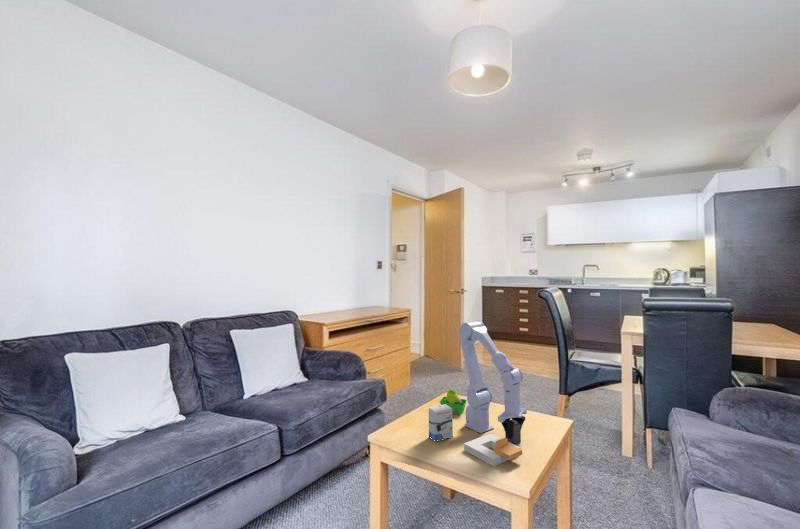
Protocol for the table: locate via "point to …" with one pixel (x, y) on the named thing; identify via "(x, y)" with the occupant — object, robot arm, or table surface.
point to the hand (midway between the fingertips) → (513, 436)
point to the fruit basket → (454, 402)
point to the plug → (515, 433)
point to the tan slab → (507, 449)
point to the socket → (485, 449)
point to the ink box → (440, 422)
